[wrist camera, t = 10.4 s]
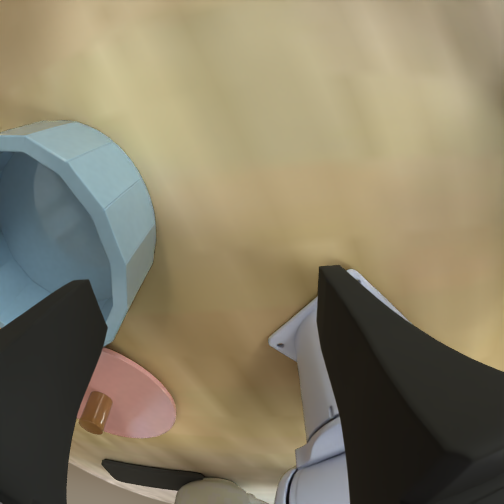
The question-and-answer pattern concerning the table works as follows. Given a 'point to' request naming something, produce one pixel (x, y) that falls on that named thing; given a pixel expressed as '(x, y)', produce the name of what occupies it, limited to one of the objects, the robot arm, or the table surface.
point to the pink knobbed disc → (125, 400)
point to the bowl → (71, 219)
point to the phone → (150, 475)
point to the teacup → (214, 493)
